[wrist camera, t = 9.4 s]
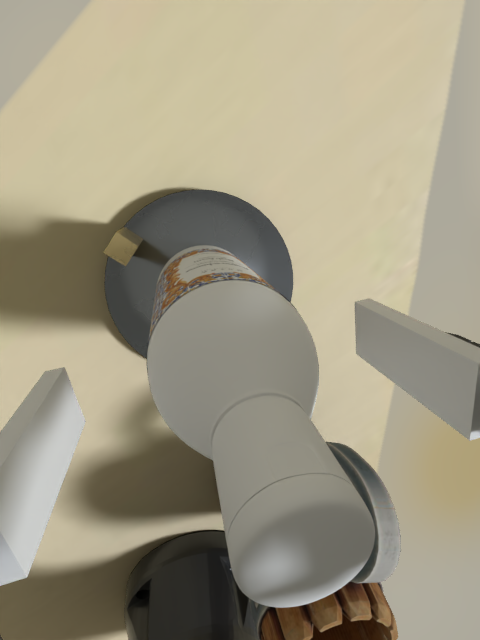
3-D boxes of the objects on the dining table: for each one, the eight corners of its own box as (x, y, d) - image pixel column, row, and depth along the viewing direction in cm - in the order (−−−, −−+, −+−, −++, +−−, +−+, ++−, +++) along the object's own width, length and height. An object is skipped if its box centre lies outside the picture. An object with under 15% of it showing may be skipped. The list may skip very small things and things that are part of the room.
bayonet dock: (295, 346, 29) (319, 374, 24) (136, 383, 27) (129, 422, 23) (278, 176, 24) (305, 170, 19) (81, 207, 22) (56, 209, 17)
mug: (298, 511, 36) (377, 701, 23) (206, 508, 34) (232, 723, 20) (349, 390, 32) (485, 532, 18) (248, 374, 29) (320, 529, 15)
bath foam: (250, 243, 24) (516, 381, 6) (248, 331, 26) (430, 630, 8) (153, 243, 23) (86, 427, 4) (159, 336, 25) (134, 711, 7)
